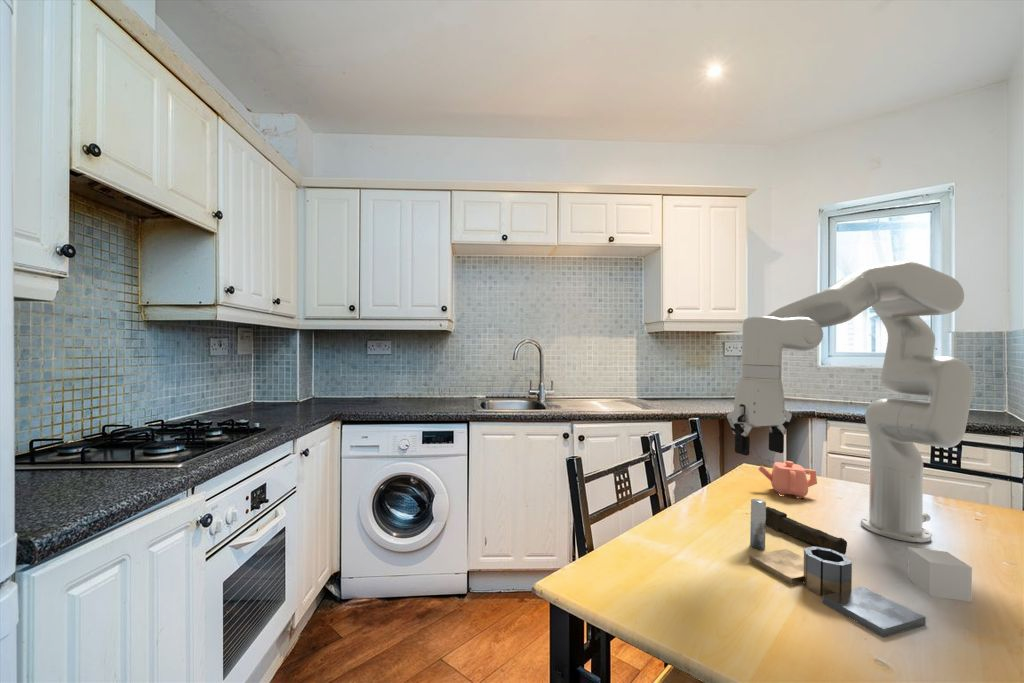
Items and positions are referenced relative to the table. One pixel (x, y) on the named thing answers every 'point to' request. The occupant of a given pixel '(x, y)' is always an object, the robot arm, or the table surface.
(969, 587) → the light grey cube
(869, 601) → the hinge
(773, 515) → the hand tool
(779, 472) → the teapot
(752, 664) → the table surface
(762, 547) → the hinge pin
